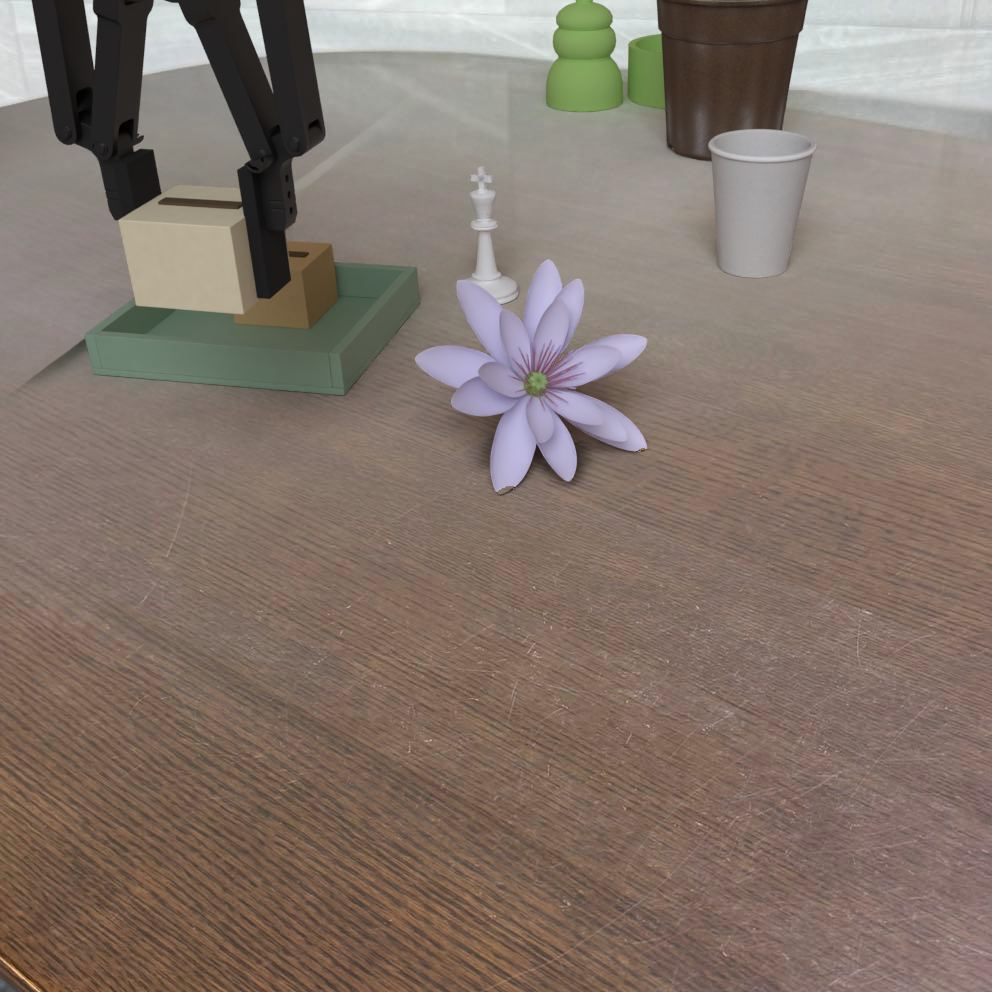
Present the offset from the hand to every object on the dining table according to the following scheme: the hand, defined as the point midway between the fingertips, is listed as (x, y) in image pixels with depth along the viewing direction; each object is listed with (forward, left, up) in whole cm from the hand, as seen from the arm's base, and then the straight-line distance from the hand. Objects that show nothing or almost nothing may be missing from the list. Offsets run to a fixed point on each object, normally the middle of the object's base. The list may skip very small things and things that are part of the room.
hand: (215, 283), depth 63 cm
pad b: (-8, +25, -12) cm, 29 cm away
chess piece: (+6, +32, -13) cm, 35 cm away
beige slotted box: (0, 0, 0) cm, 0 cm away
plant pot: (+20, +78, -13) cm, 81 cm away
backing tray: (-8, +21, -12) cm, 26 cm away
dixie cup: (+26, +42, -13) cm, 51 cm away
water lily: (+16, +7, -13) cm, 21 cm away
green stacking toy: (+8, +99, -13) cm, 101 cm away
